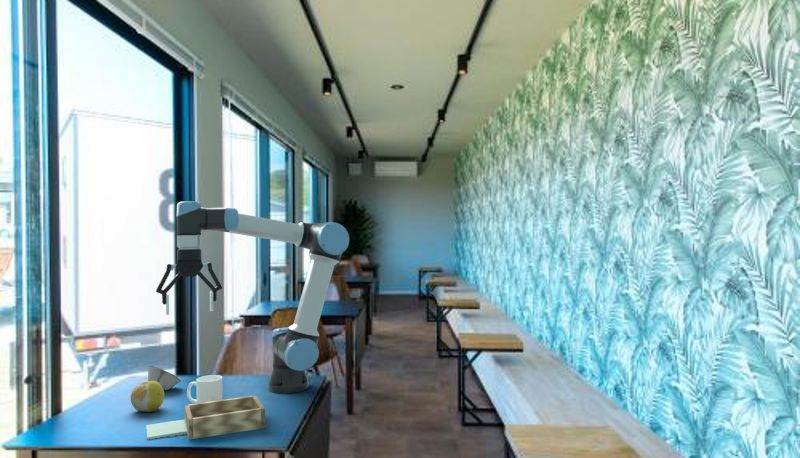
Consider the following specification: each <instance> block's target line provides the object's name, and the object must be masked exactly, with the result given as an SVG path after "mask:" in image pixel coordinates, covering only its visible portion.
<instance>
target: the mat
mask: <svg viewBox="0 0 800 458" xmlns="http://www.w3.org/2000/svg"><path fill="white" fill-rule="evenodd" d="M145 428H146V430H147V431H146V441H149V439H150V440H156V439H155V438H157V439H161V438H160V437H164V438H167V437H166V436H170V437H175V435H177V436H182V435H183V434H184V435H187V429H186V424H185V418H184V419H179V420H178V419H177V420H172V421H165V422H159V423H158V422H157V423H151V424H146V427H145Z"/></svg>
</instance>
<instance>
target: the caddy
mask: <svg viewBox="0 0 800 458" xmlns="http://www.w3.org/2000/svg"><path fill="white" fill-rule="evenodd" d="M183 407H184V411H183V412H184V419H185V424H186V429H187V434H186V435H187V439H188V440H195V439H200V438H201V439H202V438H207V437H214V436H221V435H228V434H229V435H230V434H234V433H241V432H247V431H253V430H260V429H265V428H266V408H265V407H264V405H263V404H262V403H261V401H260V399H259V398H258V397H257V396H256V395H254V394H253V395H247V396H240V397H234V398H227V399H226V398H225V399H223V400H217V401H210V402H203V403H188V404H184V405H183Z"/></svg>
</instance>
